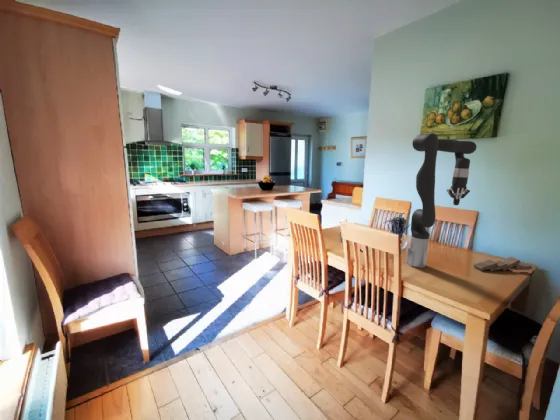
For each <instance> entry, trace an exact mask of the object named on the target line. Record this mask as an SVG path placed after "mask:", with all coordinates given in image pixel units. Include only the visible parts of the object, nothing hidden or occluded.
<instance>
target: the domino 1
mask: <svg viewBox="0 0 560 420" xmlns="http://www.w3.org/2000/svg"><path fill="white" fill-rule="evenodd" d="M496 266H498V263H497V262H496V261H495V260H493V259H491V258H490V259H487V260H484V261H481V262H478V263H475V264H473V267H474V269H476V270H478V271H479V272H483V271H486V270H487V269H490V268H493V267H496ZM487 271H488V270H487Z"/></svg>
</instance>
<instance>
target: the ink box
mask: <svg viewBox="0 0 560 420" xmlns="http://www.w3.org/2000/svg"><path fill="white" fill-rule="evenodd" d="M341 221H346V222H348V218H347V216H346V215H345V219H340V220H339V224H340V223H341ZM339 233H340V229H339Z"/></svg>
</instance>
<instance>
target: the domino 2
mask: <svg viewBox="0 0 560 420" xmlns="http://www.w3.org/2000/svg"><path fill="white" fill-rule="evenodd" d="M503 261H504V260H501V259H500V260H496V261H495V262H497V263H498V266H496V267H493V268H490V269H487V271H489V272H495V271H497V270H501V269H502V268H506V267H508V264H507V263H505V262H503Z"/></svg>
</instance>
